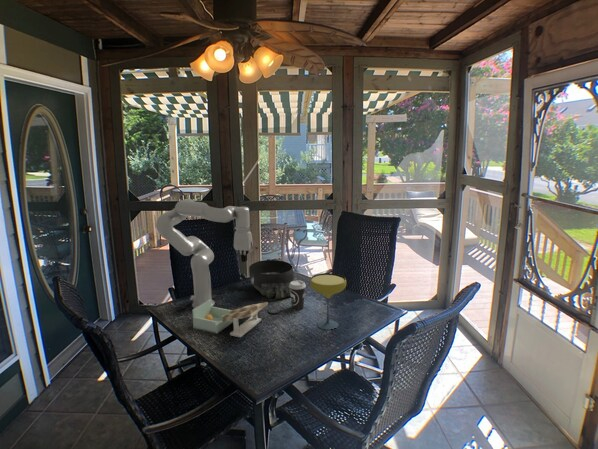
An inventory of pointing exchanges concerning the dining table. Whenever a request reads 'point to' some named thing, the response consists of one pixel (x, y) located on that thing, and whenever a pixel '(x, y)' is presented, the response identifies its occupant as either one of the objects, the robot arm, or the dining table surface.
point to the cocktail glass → (328, 292)
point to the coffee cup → (297, 294)
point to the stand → (244, 326)
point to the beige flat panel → (244, 312)
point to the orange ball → (209, 317)
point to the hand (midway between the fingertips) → (244, 261)
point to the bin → (210, 325)
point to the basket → (272, 278)
